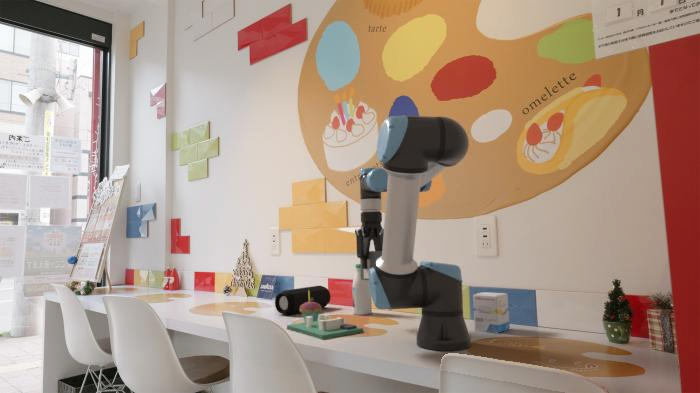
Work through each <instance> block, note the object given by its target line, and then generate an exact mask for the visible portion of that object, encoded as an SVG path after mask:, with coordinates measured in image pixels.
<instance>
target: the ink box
mask: <svg viewBox="0 0 700 393" xmlns="http://www.w3.org/2000/svg"><path fill="white" fill-rule="evenodd" d="M508 296H509V295H508V293H505V292H487V291H483V292H477V293H476V294H475V293H474V294H472V301H473V303H472V304H473V318H474V321H473V322H474V331H476V330H481V331H480V332H483V331H490V332H489V333H492V332H498V333H497V334H500V333H499V332H501V333H503V332H502V331H504V332H505V330H506V331H508V330H507V329H509V328H511V327H510V325H511V324H510V314H509V312H510V310H509V298H508ZM509 330H510V329H509Z"/></svg>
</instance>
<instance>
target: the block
mask: <svg viewBox="0 0 700 393" xmlns="http://www.w3.org/2000/svg"><path fill="white" fill-rule="evenodd" d="M380 256H382V251H375V250H369V255H368V260H370V268H372V267H376V260H377V259H378V258H379V257H380ZM359 259H360V258H359ZM359 261H360V263H359V264H360V267H361V280H369V279H367V278H364V269H363V268H362V259H360V260H359Z"/></svg>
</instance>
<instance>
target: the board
mask: <svg viewBox="0 0 700 393" xmlns="http://www.w3.org/2000/svg"><path fill="white" fill-rule="evenodd" d="M329 318H330V315H329V314H325V313H322V314H319V315H318V320H317V321H313V316H307V317H305V320H304V322H299V323H292V324H286V325H287V326H286V329H287V330H290V331H293V332H297V333H300V334H303V335H307V336H308V337H309V336H310V337H313V338H317V339H320V340H328V339H331V338H333V339H334V338H337V337H342V336H348V335H352V334H353V335H354V334H361V333H363V332H364V328H363V327H360V326H359V327H358V326H357V325H355V324H352V323H344V322H345V321H344V317H340V316H338V317H335V318H332V319H329Z"/></svg>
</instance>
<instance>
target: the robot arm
mask: <svg viewBox="0 0 700 393" xmlns="http://www.w3.org/2000/svg"><path fill="white" fill-rule="evenodd" d="M469 141H470V140H469V136H468V133H467V132H466V130H465V128H464V127H463V125H462V124H460V123H459V122H458V121H456V120H454V119H453V118H450V117H445V116H426V115H425V116H423V115H405V114H403V115H392V116H388V117H386V119H384V121H383V122H382V124H381V126H380V129H379V131H378V136H377V141H376V142H377V143H376V149H377V150H376V156H377V160H378V162H380V163H382V167H364V168H361V169H360V171H359V178H358V179H359V188H360V190H359V191H360V192H359V194H360V211H361V213H360V222H361V226H360V228H358V229H357V228H356V229H354V233H355V237H356V256H357V258H358V259H362V268H363V269H364V278H367V279H369V285H370V291H371V301H372V302H373V305H374V307H375V308H376V309H379V310H389V311H392V310H405V309H406V310H407V309H421V319H420V321H419V322H420V323H419V326H418V327H419V328H418V332H417V333H416V345H417V346H418V347H420V348H423V349H427V350H432V351H433V350H434V351H460V350H466V349H469V348H470V347H471V346H472V342H471V341H472V339H471V335H470V333H469V330H468V327H467V324H466V321H465V318H464V303H463V302H464V301H463V297H464V296H463V278H462V271H461V267H460V266H458V265H457V264H452V263H442V262H434V261H424V260H421V261H420V263H419V266H418V262H417V261H416V259H414V254H415V252H414V251H415V250H414V249H415V241H416V232H417V224H418V223H417V222H418V213H419V203H420V202H419V201H420V193H421V192H422V193H423V192H428V191H429V190H430V189H431V187H432V181H433V179H435V177H437V175H439V174H440V173H442V172H443V171H444V170H445V169H446V168H451V167H454V166H456V165H457V164H459V163H460V162H461V161H462V160H463V159H464V158H465V157H466V155H467V153H468V151H469V147H470V146H469V145H470V144H469V143H470V142H469ZM382 193H386V196H385V197H386V199H385V211H384V221H383V214H382V210H383V209H382V208H383V205H382ZM382 221H383V223H384V225H383V226H382ZM371 242H372V243H373V246H374V251H382V256H380V257H379V258H378V259H377V260H376V267H372V268H370V260H368V255H369V251H370V247H371Z"/></svg>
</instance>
